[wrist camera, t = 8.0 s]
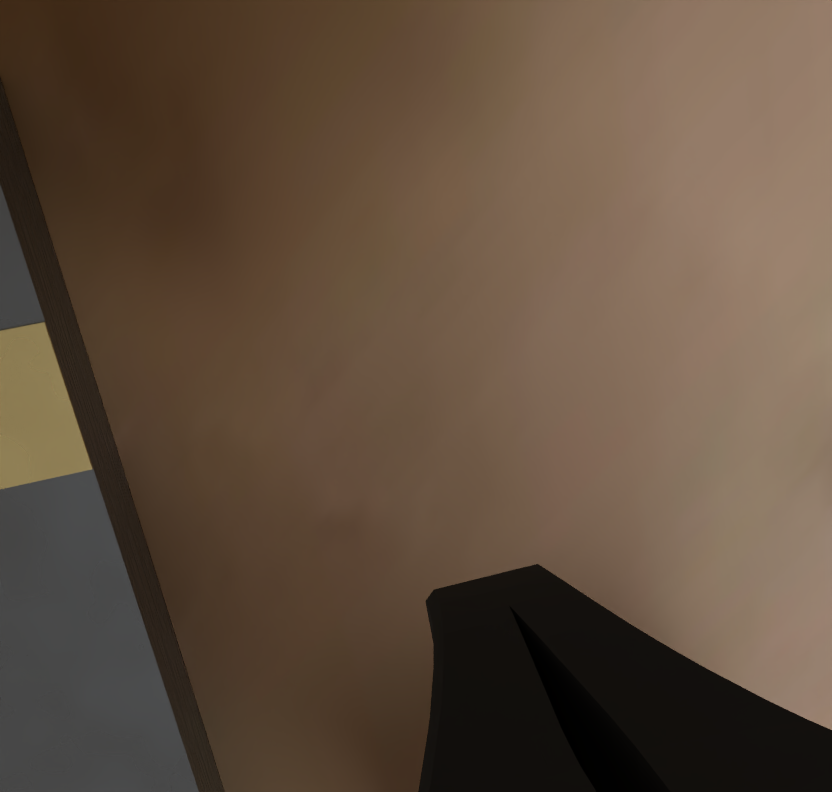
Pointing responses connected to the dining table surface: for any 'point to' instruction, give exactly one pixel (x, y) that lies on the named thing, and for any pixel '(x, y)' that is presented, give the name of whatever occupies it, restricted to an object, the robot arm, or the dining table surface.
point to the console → (74, 553)
